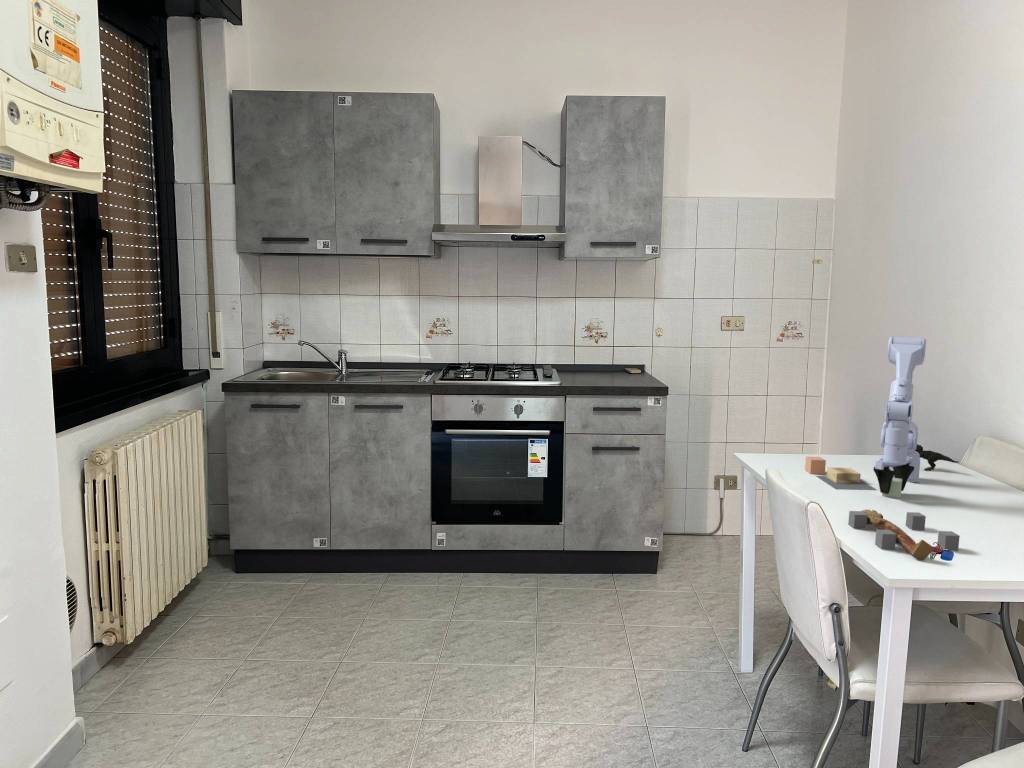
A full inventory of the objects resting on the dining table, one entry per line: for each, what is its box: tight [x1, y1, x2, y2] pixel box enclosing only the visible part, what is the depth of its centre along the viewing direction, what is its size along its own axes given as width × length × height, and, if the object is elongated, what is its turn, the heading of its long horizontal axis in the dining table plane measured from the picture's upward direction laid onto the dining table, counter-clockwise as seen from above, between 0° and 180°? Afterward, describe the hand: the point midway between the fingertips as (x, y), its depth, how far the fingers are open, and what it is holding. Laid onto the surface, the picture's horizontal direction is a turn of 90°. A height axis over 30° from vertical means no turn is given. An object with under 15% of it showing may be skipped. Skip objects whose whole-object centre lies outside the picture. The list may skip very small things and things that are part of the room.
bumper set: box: [847, 510, 960, 552], centre depth 173 cm, size 17×17×4 cm
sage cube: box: [881, 478, 902, 499], centre depth 207 cm, size 4×4×5 cm
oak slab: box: [826, 467, 862, 483], centre depth 223 cm, size 7×7×3 cm
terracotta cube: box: [804, 456, 827, 475], centre depth 232 cm, size 4×4×5 cm
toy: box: [915, 443, 960, 472], centre depth 238 cm, size 5×15×8 cm, turn 39°
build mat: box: [815, 475, 878, 491], centre depth 220 cm, size 12×15×1 cm
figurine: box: [861, 509, 935, 561], centre depth 173 cm, size 8×6×30 cm
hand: (891, 491), depth 207 cm, fingers open, 6 cm apart
